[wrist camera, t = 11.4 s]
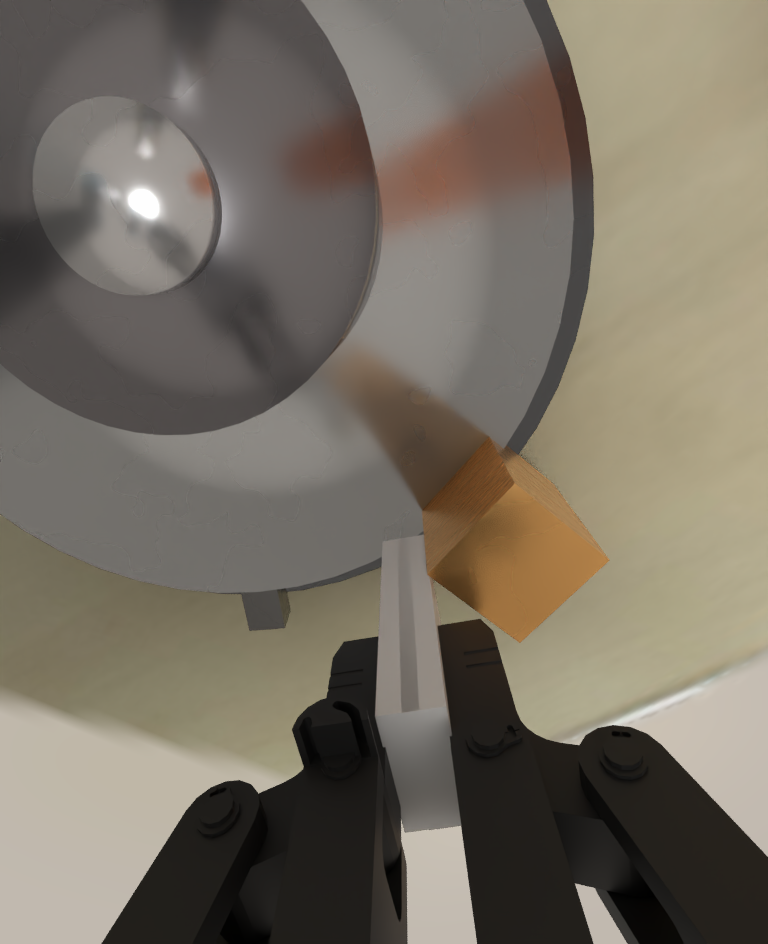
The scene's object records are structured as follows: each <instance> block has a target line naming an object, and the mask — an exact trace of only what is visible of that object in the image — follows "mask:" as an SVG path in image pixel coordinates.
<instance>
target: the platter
mask: <svg viewBox="0 0 768 944" xmlns="http://www.w3.org/2000/svg"><path fill="white" fill-rule="evenodd" d="M301 1H302V2H303V3H304V5H305V6H306V8H307V9H308V10H309V12H310V13H311V15H312V16H313V17H314V19H315V20H316V22H317V23H318V25H319V26H320V27H321V29H322V30H323V32H324V33H325V34H326V36H327V38H328V40H329V41H330V43H331V45H332V47H333V49H334V51H335V53H336V54H337V56H338V58H339V60H340V62H341V64H342V65H343V67H344V69H345V71H346V74H347V76H348V79H349V81H350V84H351V86H352V89H353V91H354V94H355V96H356V99H357V101H358V104H359V106H360V110H361V114H362V117H363V121H364V125H365V129H366V132H367V136H368V140H369V143H370V148H371V152H372V156H373V160H374V164H375V169H376V173H377V177H378V182H379V188H380V195H381V202H382V221H383V235H382V245H381V256H380V261H379V265H378V270H377V274H376V279H375V282H374V285H373V288H372V290H371V293H370V296H369V299H368V302H367V304H366V306H365V308H364V310H363V312H362V314H361V315H360V317H359V319H358V321H357V323H356V324H355V326H354V327H353V329H352V330H351V332H350V333H349V335H348V336H347V338H346V339H345V340H344V341H343V342H342V344H341V345H340V346H339V347H338V348H337V349H336V350H335V351H334V352H333V354H332V355H331V356H330V357H329V358H328V359H327V360H326V361H325V362H324V363H323V364H322V366H321V367H320V368H319V369H318V370H317V371H316V372H315V373H314V374H313V375H312V376H311V377H310V379H309V380H308V381H307V382H305V383H304V384H303V385H302V386H301V387H299V388H298V389H297V390H296V391H295V392H294V393H292V394H291V395H290V396H289V397H288V398H286V399H285V400H283V401H282V402H280V403H278V404H277V405H275V406H274V407H272V408H270V409H269V410H267V411H266V412H264V413H262V414H260V415H257V416H255V417H253V418H251V419H249V420H246V421H244V422H242V423H239V424H236V425H233V426H229V427H226V428H222V429H219V430H216V431H210V432H203V433H197V434H190V435H154V434H145V433H135V432H131V431H126V430H122V429H118V428H113V427H109V426H106V425H103V424H100V423H97V422H95V421H92V420H89V419H86V418H83V417H81V416H79V415H77V414H75V413H73V412H71V411H69V410H66V409H64V408H62V407H60V406H58V405H56V404H54V403H53V402H51V401H50V400H48V399H46V398H45V397H43V396H42V395H40V394H39V393H37V392H35V391H34V390H32V389H31V388H29V387H28V386H27V385H25V384H24V383H23V382H22V381H20V380H19V379H18V378H17V377H15V376H14V375H13V374H11V373H10V372H9V371H8V370H6V369H5V368H4V367H3V366H2V365H1V364H0V514H1V515H2V516H4V517H5V518H7V519H8V520H9V521H11V522H12V523H14V524H15V525H16V526H18V527H19V528H21V529H22V530H24V531H26V532H27V533H29V534H31V535H33V536H34V537H36V538H38V539H40V540H41V541H43V542H45V543H47V544H48V545H50V546H52V547H54V548H55V549H57V550H59V551H61V552H63V553H66V554H68V555H70V556H72V557H75V558H77V559H79V560H81V561H84V562H86V563H88V564H90V565H93V566H95V567H97V568H100V569H103V570H106V571H109V572H112V573H115V574H118V575H122V576H125V577H128V578H131V579H134V580H137V581H141V582H146V583H151V584H156V585H161V586H165V587H170V588H175V589H182V590H193V591H203V592H214V593H238V592H241V594H242V599H243V603H244V608H245V612H246V617H247V621H248V626H249V630H250V631H252V630H265V629H279V628H285V626H286V623H287V620H288V617H289V614H290V606H289V601H288V595H287V590H286V588H291V587H298V586H302V585H305V584H309V583H313V582H317V581H321V580H324V579H328V578H332V577H336V576H338V575H341V574H343V573H346V572H348V571H351V570H353V569H356V568H358V567H361V566H363V565H366V564H368V563H371V562H373V561H375V560H377V559H378V558H380V557H382V543H383V541H389V540H395V539H400V538H406V537H413V536H417V535H419V534H420V533H421V532H423V531H424V542H425V554H426V565H427V575H429V576H430V577H431V578H433V579H434V580H435V581H437V582H438V583H439V584H441V585H442V586H443V587H445V588H446V589H447V590H449V591H450V592H452V593H453V594H454V595H456V596H457V597H458V598H460V599H461V600H462V601H464V602H465V603H466V604H468V605H469V606H471V607H472V608H473V609H475V610H476V611H477V612H479V613H480V614H481V615H483V616H484V617H485V618H487V619H488V620H490V621H491V622H492V623H494V624H495V625H496V626H498V627H499V628H500V629H502V630H503V631H504V632H506V633H507V634H509V635H510V636H511V637H513V638H514V639H515V640H517V641H518V642H519V643H520V642H521V641H522V640H523V639H525V638H526V637H527V636H528V635H529V634H530V633H531V632H532V631H533V630H534V629H535V628H536V627H538V626H539V625H540V624H541V623H542V622H543V621H544V620H545V619H546V618H547V617H548V616H549V615H551V614H552V613H553V612H554V611H555V610H556V609H557V608H558V607H559V606H560V605H561V604H563V603H564V602H565V601H566V600H567V599H568V598H569V597H570V596H571V595H572V594H573V593H574V592H576V591H577V590H578V589H579V588H580V587H581V586H582V585H583V584H584V583H585V582H586V581H587V580H589V579H590V578H591V577H592V576H593V575H594V574H595V573H596V572H597V571H598V570H599V569H600V568H602V567H603V566H604V565H605V564H606V563H607V562H608V561H609V559H608V557H607V556H606V555H605V553H604V552H603V551H602V549H601V548H600V546H599V545H598V544H597V542H596V541H595V540H594V538H593V537H592V536H591V534H590V533H589V532H588V530H587V529H586V527H585V526H584V525H583V523H582V522H581V521H580V519H579V518H578V517H577V515H576V514H575V513H574V511H573V510H572V509H571V507H570V506H569V504H568V503H567V502H566V500H565V499H564V498H563V496H562V495H561V494H560V492H559V491H558V490H557V488H556V487H555V485H554V484H553V483H552V482H550V481H549V480H548V479H547V478H546V477H544V476H543V475H542V474H541V473H540V472H538V471H537V470H536V469H535V468H533V467H532V466H531V465H530V464H529V463H527V462H526V461H525V460H524V459H523V458H521V457H520V456H519V455H518V454H516V453H515V452H514V451H513V450H512V449H510V448H509V447H508V446H507V443H508V441H509V440H510V438H511V437H512V435H513V433H514V432H515V430H516V429H517V427H518V425H519V424H520V422H521V421H522V419H523V418H524V416H525V414H526V412H527V410H528V407H529V405H530V403H531V401H532V399H533V397H534V394H535V392H536V390H537V388H538V386H539V384H540V382H541V379H542V377H543V375H544V373H545V370H546V367H547V364H548V361H549V358H550V355H551V352H552V348H553V345H554V342H555V339H556V336H557V333H558V330H559V327H560V323H561V318H562V312H563V307H564V302H565V297H566V291H567V286H568V281H569V276H570V266H571V251H572V236H573V221H574V213H573V195H572V177H571V159H570V154H569V148H568V143H567V137H566V132H565V126H564V120H563V115H562V109H561V104H560V99H559V96H558V92H557V89H556V86H555V83H554V80H553V76H552V73H551V70H550V67H549V63H548V60H547V57H546V54H545V51H544V47H543V44H542V41H541V38H540V36H539V34H538V32H537V29H536V27H535V25H534V23H533V21H532V18H531V16H530V14H529V12H528V10H527V7H526V5H525V3H524V1H523V0H301Z"/></svg>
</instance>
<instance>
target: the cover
mask: <svg viewBox="0 0 768 944" xmlns="http://www.w3.org/2000/svg"><path fill="white" fill-rule="evenodd" d="M382 235H383V221H382V202H381V195H380V188H379V182H378V177H377V173H376V169H375V164H374V160H373V156H372V152H371V148H370V143H369V140H368V136H367V132H366V129H365V125H364V121H363V117H362V114H361V110H360V106H359V104H358V101H357V99H356V96H355V94H354V91H353V89H352V86H351V84H350V81H349V79H348V76H347V74H346V71H345V69H344V67H343V65H342V64H341V62H340V60H339V58H338V56H337V54H336V53H335V51H334V49H333V47H332V45H331V43H330V41H329V40H328V38H327V36H326V34H325V33H324V32H323V30H322V29H321V27H320V26H319V25H318V23H317V22H316V20H315V19H314V17H313V16H312V15H311V13H310V12H309V10H308V9H307V8H306V6H305V5H304V3H303V2H302V1H301V0H0V364H1V365H2V366H3V367H4V368H5V369H6V370H8V371H9V372H10V373H11V374H13V375H14V376H15V377H17V378H18V379H19V380H20V381H22V382H23V383H24V384H25V385H27V386H28V387H29V388H31V389H32V390H34V391H35V392H37V393H39V394H40V395H42V396H43V397H45V398H46V399H48V400H50V401H51V402H53V403H54V404H56V405H58V406H60V407H62V408H64V409H66V410H69V411H71V412H73V413H75V414H77V415H79V416H81V417H83V418H86V419H89V420H92V421H95V422H97V423H100V424H103V425H106V426H109V427H113V428H118V429H122V430H126V431H131V432H135V433H145V434H154V435H190V434H197V433H203V432H210V431H216V430H219V429H222V428H226V427H229V426H233V425H236V424H239V423H242V422H244V421H246V420H249V419H251V418H253V417H255V416H257V415H260V414H262V413H264V412H266V411H267V410H269V409H270V408H272V407H274V406H275V405H277V404H278V403H280V402H282V401H283V400H285V399H286V398H288V397H289V396H290V395H291V394H292V393H294V392H295V391H296V390H297V389H298V388H299V387H301V386H302V385H303V384H304V383H305V382H307V381H308V380H309V379H310V377H311V376H312V375H313V374H314V373H315V372H316V371H317V370H318V369H319V368H320V367H321V366H322V364H323V363H324V362H325V361H326V360H327V359H328V358H329V357H330V356H331V355H332V354H333V352H334V351H335V350H336V349H337V348H338V347H339V346H340V345H341V344H342V342H343V341H344V340H345V339H346V338H347V336H348V335H349V333H350V332H351V330H352V329H353V327H354V326H355V324H356V323H357V321H358V319H359V317H360V315H361V314H362V312H363V310H364V308H365V306H366V304H367V302H368V299H369V296H370V293H371V290H372V288H373V285H374V282H375V279H376V274H377V270H378V265H379V261H380V256H381V245H382Z"/></svg>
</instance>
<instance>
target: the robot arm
mask: <svg viewBox="0 0 768 944" xmlns="http://www.w3.org/2000/svg"><path fill="white" fill-rule="evenodd" d="M328 689H329V691H328V692H327V698H326V699H323V700H320V701H318V702H316V703H315V704H313V705H311V706H309V707H308V708H307V709H306V710H305V711H304V712H303V713H302V714H301V715H300V716H299V717H298V718H297V720H296V722H295V724H294V726H293V729H292V731H293V734H294V737H295V741H296V744H297V747H298V750H299V753H300V756H301V759H302V762H303V765H304V768H303V770H302V771H301V772H300V773H298V774H297V775H296V776H295V777H293V778H291V779H289V780H288V781H286V782H284V783H282V784H280V785H277V786H275V787H273V788H270V789H268V790H266V791H263V792H261V793H259V794H258V792H257V791H256V790H255V789H254V787H253V786H252V785H251V784H249V783H246V782H243V781H240V780H238V781H227V782H223V783H221V784H219V785H216V786H214V787H211V788H210V789H208V790H207V791H206V792H204V793H203V794H202V795H200V796H199V797H198V798H196V800H195V801H194V802H193V803H192V804H191V806H190V807H189V808H188V809H187V810H186V812H185V813H184V815H183V816H182V818H181V820H180V821H179V823H178V824H177V826H176V828H175V829H174V831H173V832H172V834H171V835H170V837H169V839H168V840H167V842H166V843H165V845H164V846H163V848H162V850H161V851H160V853H159V854H158V856H157V857H156V859H155V860H154V862H153V864H152V865H151V867H150V868H149V870H148V871H147V873H146V875H145V876H144V878H143V880H142V881H141V882H140V884H139V886H138V887H137V889H136V890H135V892H134V893H133V895H132V897H131V898H130V900H129V901H128V903H127V905H126V906H125V908H124V909H123V911H122V912H121V914H120V916H119V917H118V919H117V920H116V922H115V924H114V925H113V926H112V928H111V930H110V931H109V933H108V934H107V936H106V938H105V939H104V941H103V942H102V944H407V871H406V869H407V868H406V860H405V855H404V850H403V847H402V843H401V820H402V824H403V828H404V831H405V832H413V831H421V830H432V829H440V828H448V827H455V826H461V827H462V834H463V841H464V849H465V856H466V864H467V872H468V879H469V886H470V893H471V901H472V908H473V916H474V923H475V930H476V938H477V944H593V941H592V938H591V934H590V931H589V928H588V925H587V921H586V918H585V915H584V912H583V908H582V905H581V902H580V899H579V896H578V892H577V889H576V886H575V883H576V884H581V885H585V886H589V887H594V888H595V889H596V891H597V893H598V895H599V897H600V898H601V900H602V901H603V903H604V905H605V907H606V908H607V910H608V912H609V913H610V915H611V917H612V918H613V920H614V922H615V923H616V925H617V927H618V928H619V930H620V932H621V933H622V935H623V937H624V938H625V940H626V942H627V943H628V944H768V857H767V856H766V855H765V854H764V853H763V851H762V850H761V849H760V848H759V847H758V846H757V845H756V844H755V843H754V842H753V841H752V840H751V839H750V838H749V837H748V836H747V835H746V834H745V833H744V831H742V829H741V828H740V827H739V826H738V825H737V824H736V823H735V822H734V821H733V820H732V819H731V818H730V817H729V816H728V815H727V814H726V813H725V811H724V810H723V809H722V808H721V807H720V806H719V805H718V804H717V803H716V802H715V801H714V800H713V799H712V798H711V797H710V796H709V795H708V794H707V792H705V791H704V789H703V788H702V787H701V786H700V785H699V784H698V783H697V782H696V781H695V780H694V779H693V778H692V777H691V776H690V775H689V774H688V772H687V771H685V769H684V768H682V766H681V765H680V764H679V763H678V762H677V761H676V760H675V759H674V758H673V757H672V756H671V755H670V754H669V752H668V751H667V750H666V749H665V748H664V747H663V746H662V745H661V744H660V743H658V742H657V741H656V740H654V739H653V738H652V737H651V736H649V735H648V734H646V733H644V732H641V731H639V730H636V729H634V728H631V727H624V726H615V725H612V726H607V727H601V728H597V729H595V730H594V731H592V732H591V733H589V734H587V735H586V736H585V737H584V739H583V740H582V742H581V744H580V745H573V744H565V743H559V742H554V741H550V740H547V739H544V738H542V737H540V736H538V735H536V734H534V733H533V732H532V731H530V730H529V729H527V728H526V726H525V725H524V724H523V723H522V722H521V720H520V718H519V716H518V714H517V711H516V708H515V705H514V701H513V698H512V694H511V691H510V687H509V684H508V681H507V677H506V674H505V670H504V667H503V663H502V660H501V656H500V653H499V650H498V646H497V643H496V639H495V636H494V632H493V631H492V630H491V629H490V628H489V627H488V626H487V625H486V624H485V623H484V622H483V621H482V620H481V619H477V620H470V621H464V622H458V623H452V624H446V625H441V620H440V614H439V609H438V604H437V599H436V593H435V588H434V583H433V578H431V577H430V576H429V575H427V565H426V554H425V542H424V535H419V536H413V537H406V538H400V539H395V540H389V541H383V543H382V567H381V590H380V613H379V636H378V637H372V638H366V639H359V640H353V641H347V642H344V643H343V644H342V646H341V647H340V648H339V650H338V651H337V653H336V654H335V656H334V657H333V661H332V668H331V677H330V680H329V686H328Z"/></svg>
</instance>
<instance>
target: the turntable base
mask: <svg viewBox="0 0 768 944" xmlns="http://www.w3.org/2000/svg"><path fill="white" fill-rule="evenodd" d="M523 1H524V3H525V5H526V7H527V10H528V12H529V14H530V16H531V18H532V21H533V23H534V25H535V27H536V29H537V32H538V34H539V36H540V38H541V41H542V44H543V47H544V51H545V54H546V57H547V60H548V63H549V67H550V70H551V73H552V76H553V80H554V83H555V86H556V89H557V92H558V96H559V99H560V104H561V109H562V115H563V120H564V126H565V132H566V137H567V143H568V148H569V154H570V159H571V177H572V195H573V213H574V221H573V236H572V251H571V266H570V276H569V281H568V286H567V291H566V297H565V302H564V307H563V312H562V318H561V323H560V327H559V330H558V333H557V336H556V339H555V342H554V345H553V348H552V352H551V355H550V358H549V361H548V364H547V367H546V370H545V373H544V375H543V377H542V379H541V382H540V384H539V386H538V388H537V390H536V392H535V394H534V397H533V399H532V401H531V403H530V405H529V407H528V410H527V412H526V414H525V416H524V418H523V419H522V421H521V422H520V424H519V425H518V427H517V429H516V430H515V432H514V433H513V435H512V437H511V438H510V440H509V441H508V443H507V446H508V447H509V448H510V449H512V450H513V451H514V452H515V453H516V454H519V453H520V451H521V450H522V449H523V447H524V446H525V444H526V443H527V441H528V440H529V438H530V437H531V435H532V434H533V433H534V431H535V430H536V428H537V426H538V424H539V422H540V420H541V419H542V417H543V415H544V413H545V411H546V409H547V407H548V405H549V403H550V401H551V399H552V397H553V395H554V394H555V392H556V390H557V388H558V386H559V383H560V380H561V378H562V375H563V372H564V370H565V367H566V364H567V362H568V359H569V356H570V354H571V351H572V348H573V345H574V343H575V340H576V336H577V332H578V328H579V324H580V319H581V315H582V311H583V307H584V303H585V298H586V294H587V290H588V282H589V273H590V264H591V255H592V246H593V237H594V201H593V171H592V164H591V156H590V149H589V142H588V134H587V127H586V119H585V115H584V111H583V107H582V103H581V99H580V95H579V92H578V88H577V84H576V80H575V76H574V73H573V69H572V65H571V61H570V57H569V55H568V52H567V50H566V47H565V45H564V42H563V40H562V37H561V35H560V32H559V30H558V27H557V25H556V23H555V20H554V18H553V15H552V13H551V10H550V8H549V5H548V3H547V0H523ZM419 535H424V531H423V532H421V533H420V534H419ZM419 535H417V536H419ZM381 566H382V557H380V558H378V559H377V560H375V561H373V562H371V563H368V564H366V565H363V566H361V567H358V568H356V569H353V570H351V571H348V572H346V573H343V574H341V575H338V576H336V577H332V578H328V579H324V580H321V581H317V582H313V583H309V584H305V585H302V586H298V587H291V588H286V590H287V592H289V591H298V590H305V589H309V588H314V587H318V586H323V585H327V584H331V583H336V582H340V581H343V580H346V579H349V578H352V577H354V576H357V575H360V574H363V573H366V572H368V571H371V570H374V569H377V568H379V567H381ZM212 593H214V592H212ZM220 594H241V592H238V593H220Z"/></svg>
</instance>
